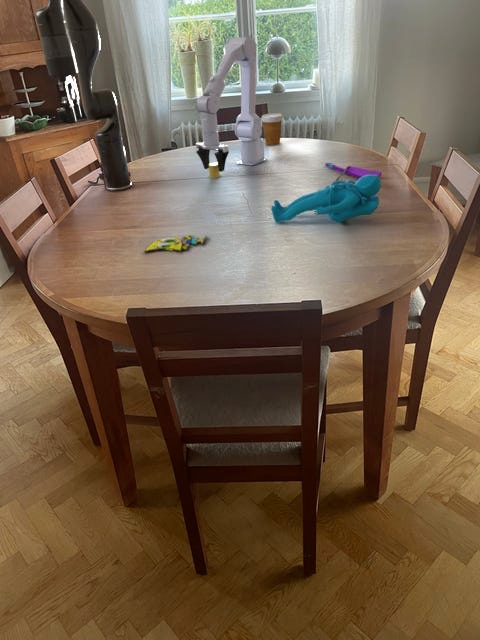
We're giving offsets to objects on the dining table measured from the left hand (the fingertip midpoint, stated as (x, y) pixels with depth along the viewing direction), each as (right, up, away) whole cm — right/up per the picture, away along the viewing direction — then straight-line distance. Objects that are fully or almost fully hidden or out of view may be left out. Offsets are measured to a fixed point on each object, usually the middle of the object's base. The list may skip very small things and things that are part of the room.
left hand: (75, 120), depth 135 cm
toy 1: (+29, -36, -5) cm, 47 cm away
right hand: (+37, 0, +45) cm, 58 cm away
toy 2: (+71, -28, +2) cm, 76 cm away
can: (+37, -2, +46) cm, 59 cm away
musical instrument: (+84, -6, +34) cm, 91 cm away
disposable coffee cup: (+61, +24, +83) cm, 106 cm away
